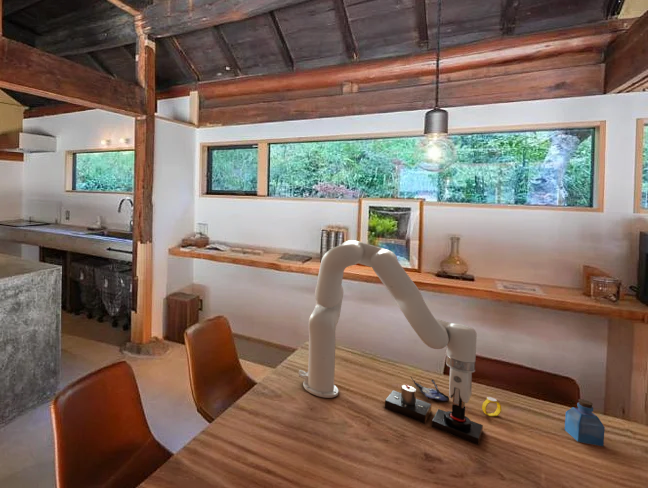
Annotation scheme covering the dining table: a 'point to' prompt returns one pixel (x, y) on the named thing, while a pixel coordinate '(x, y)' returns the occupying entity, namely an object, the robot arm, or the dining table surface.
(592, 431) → the perfume bottle
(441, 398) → the snack package
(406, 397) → the heat knob
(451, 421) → the button block
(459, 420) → the button
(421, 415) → the control panel
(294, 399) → the dining table surface
